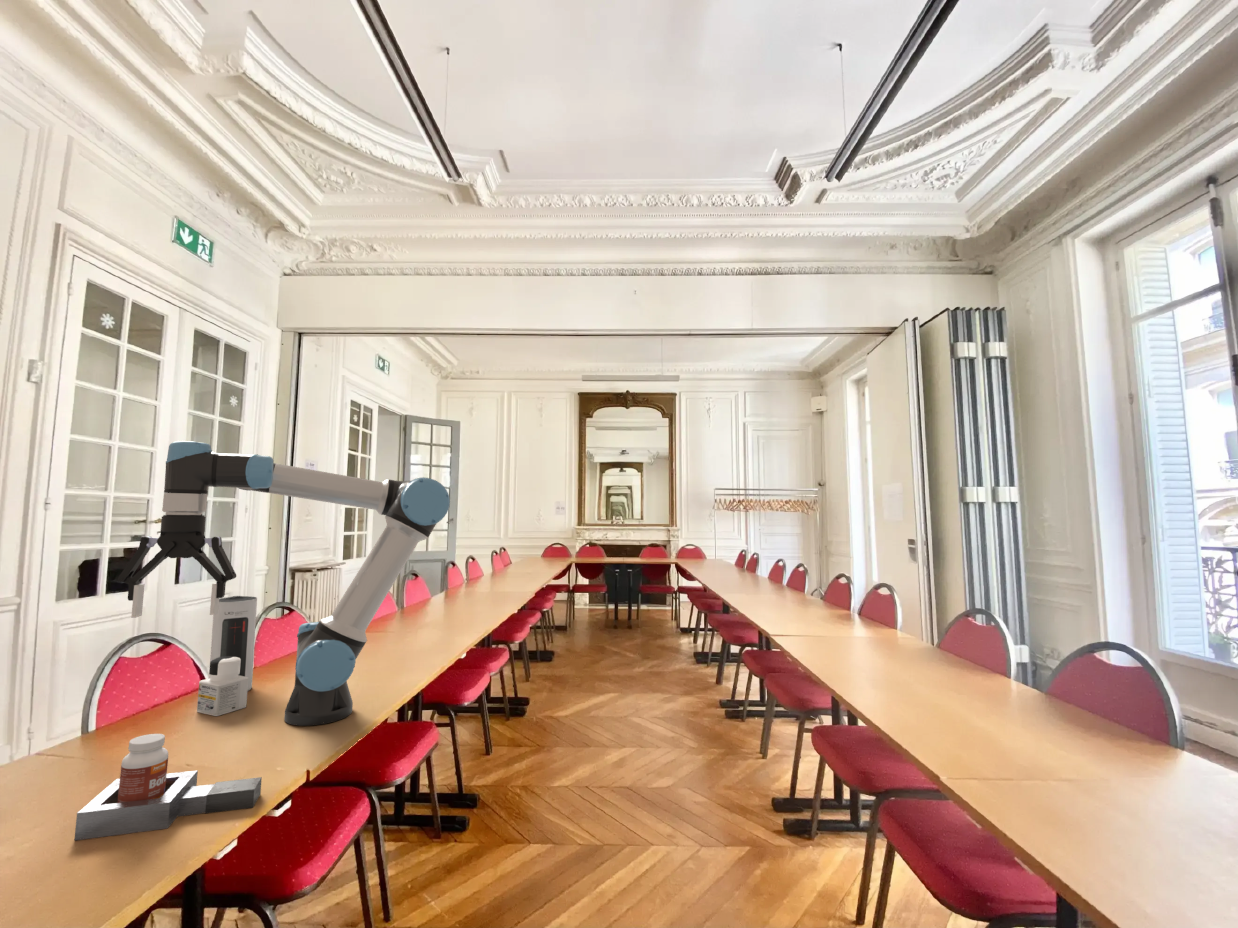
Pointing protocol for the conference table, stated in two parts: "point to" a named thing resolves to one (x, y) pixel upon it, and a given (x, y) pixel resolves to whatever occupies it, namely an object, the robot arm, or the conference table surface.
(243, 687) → the container
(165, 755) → the pill bottle
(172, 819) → the grey square pan
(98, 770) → the conference table surface
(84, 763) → the conference table surface
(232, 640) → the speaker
